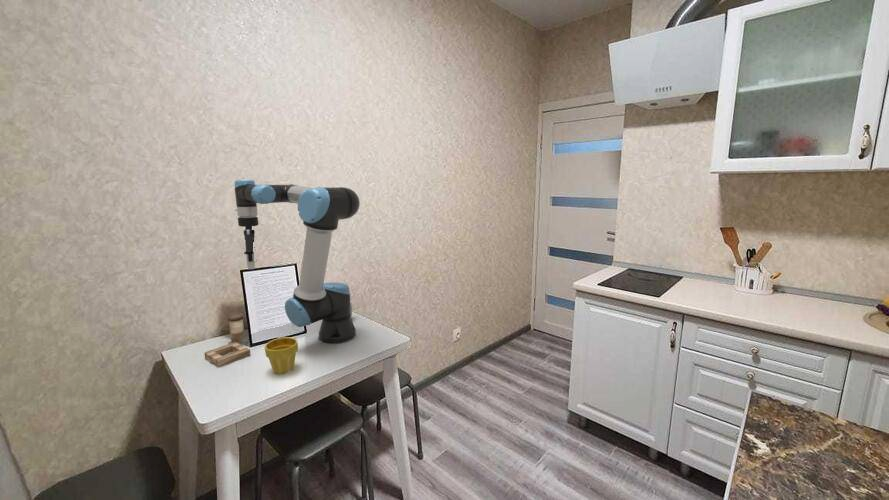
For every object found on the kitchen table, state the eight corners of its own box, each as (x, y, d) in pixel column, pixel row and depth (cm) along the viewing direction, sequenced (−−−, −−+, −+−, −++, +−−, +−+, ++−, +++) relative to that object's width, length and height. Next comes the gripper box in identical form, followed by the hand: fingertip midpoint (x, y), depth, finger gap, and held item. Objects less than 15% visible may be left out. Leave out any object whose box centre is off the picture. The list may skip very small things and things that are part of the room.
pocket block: (250, 355, 136) (249, 349, 135) (219, 367, 127) (218, 360, 126) (236, 347, 142) (235, 341, 141) (205, 358, 133) (204, 352, 132)
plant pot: (278, 380, 119) (276, 352, 117) (260, 371, 124) (258, 345, 122) (305, 367, 127) (303, 341, 126) (287, 359, 133) (285, 334, 131)
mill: (248, 341, 146) (245, 313, 144) (234, 346, 142) (231, 317, 140) (241, 338, 149) (238, 310, 147) (228, 342, 145) (225, 314, 143)
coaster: (251, 342, 146) (251, 341, 146) (233, 348, 141) (233, 347, 141) (242, 338, 150) (242, 337, 150) (224, 344, 145) (224, 343, 145)
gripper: (240, 214, 161) (244, 260, 165) (234, 219, 139) (240, 272, 143) (258, 214, 165) (262, 259, 169) (256, 219, 142) (261, 271, 146)
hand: (252, 265), depth 156 cm, fingers open, 13 cm apart
